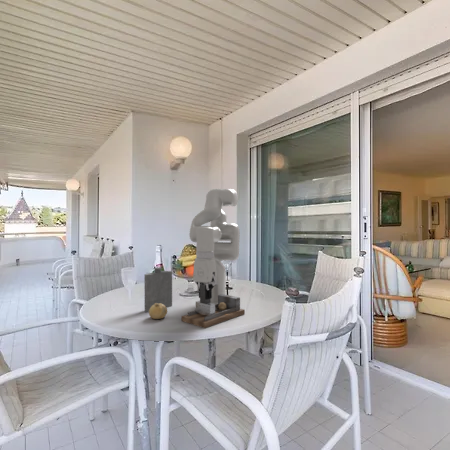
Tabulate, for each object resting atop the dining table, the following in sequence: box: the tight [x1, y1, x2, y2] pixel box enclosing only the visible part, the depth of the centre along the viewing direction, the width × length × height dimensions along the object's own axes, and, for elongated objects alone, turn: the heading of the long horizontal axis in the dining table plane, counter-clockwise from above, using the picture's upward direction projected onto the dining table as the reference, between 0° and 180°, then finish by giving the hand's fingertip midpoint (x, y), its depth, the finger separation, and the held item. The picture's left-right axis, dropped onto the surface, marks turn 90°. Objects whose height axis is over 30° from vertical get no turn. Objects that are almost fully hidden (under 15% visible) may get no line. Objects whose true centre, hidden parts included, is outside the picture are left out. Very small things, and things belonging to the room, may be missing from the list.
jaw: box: [195, 283, 215, 316], centre depth 138 cm, size 9×3×13 cm, turn 49°
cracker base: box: [181, 294, 246, 329], centre depth 142 cm, size 14×26×8 cm, turn 139°
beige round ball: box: [219, 302, 226, 310], centre depth 147 cm, size 4×4×4 cm
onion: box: [148, 303, 168, 320], centre depth 141 cm, size 8×8×7 cm
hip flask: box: [144, 266, 173, 313], centre depth 157 cm, size 16×4×20 cm, turn 139°
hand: (205, 297), depth 138 cm, fingers closed on jaw, 3 cm apart
